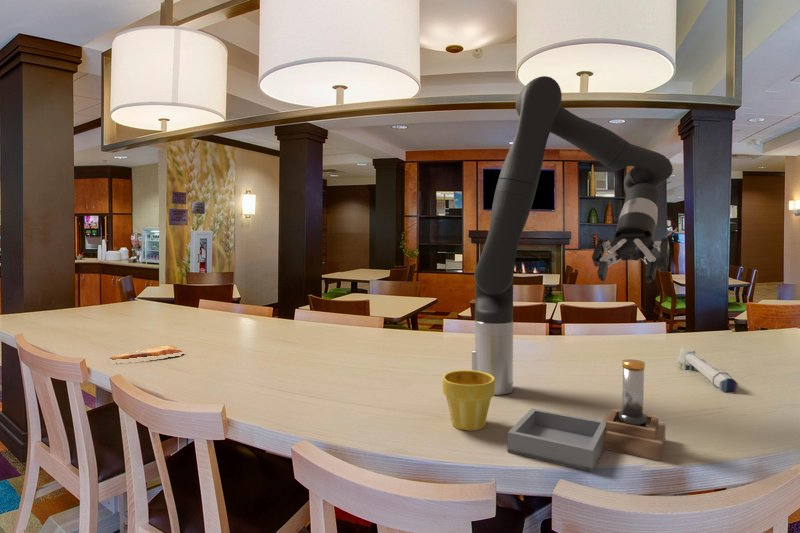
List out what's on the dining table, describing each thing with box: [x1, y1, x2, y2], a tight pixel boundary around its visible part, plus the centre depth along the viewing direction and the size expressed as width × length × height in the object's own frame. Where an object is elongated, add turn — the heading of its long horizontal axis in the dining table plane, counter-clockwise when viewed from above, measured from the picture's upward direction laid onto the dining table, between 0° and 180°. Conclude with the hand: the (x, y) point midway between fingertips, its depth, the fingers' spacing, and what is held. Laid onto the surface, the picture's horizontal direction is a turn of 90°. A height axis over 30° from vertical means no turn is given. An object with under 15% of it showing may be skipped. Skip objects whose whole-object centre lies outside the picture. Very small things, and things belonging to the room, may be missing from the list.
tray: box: [507, 407, 606, 473], centre depth 86 cm, size 14×14×4 cm
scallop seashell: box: [109, 345, 183, 360], centre depth 153 cm, size 18×18×4 cm
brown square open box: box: [602, 408, 667, 462], centre depth 86 cm, size 10×10×4 cm
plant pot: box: [442, 369, 495, 432], centre depth 96 cm, size 10×10×10 cm
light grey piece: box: [675, 346, 739, 393], centre depth 127 cm, size 5×7×25 cm
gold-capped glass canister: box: [619, 358, 646, 427], centre depth 86 cm, size 4×4×12 cm
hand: (624, 279), depth 96 cm, fingers open, 8 cm apart
